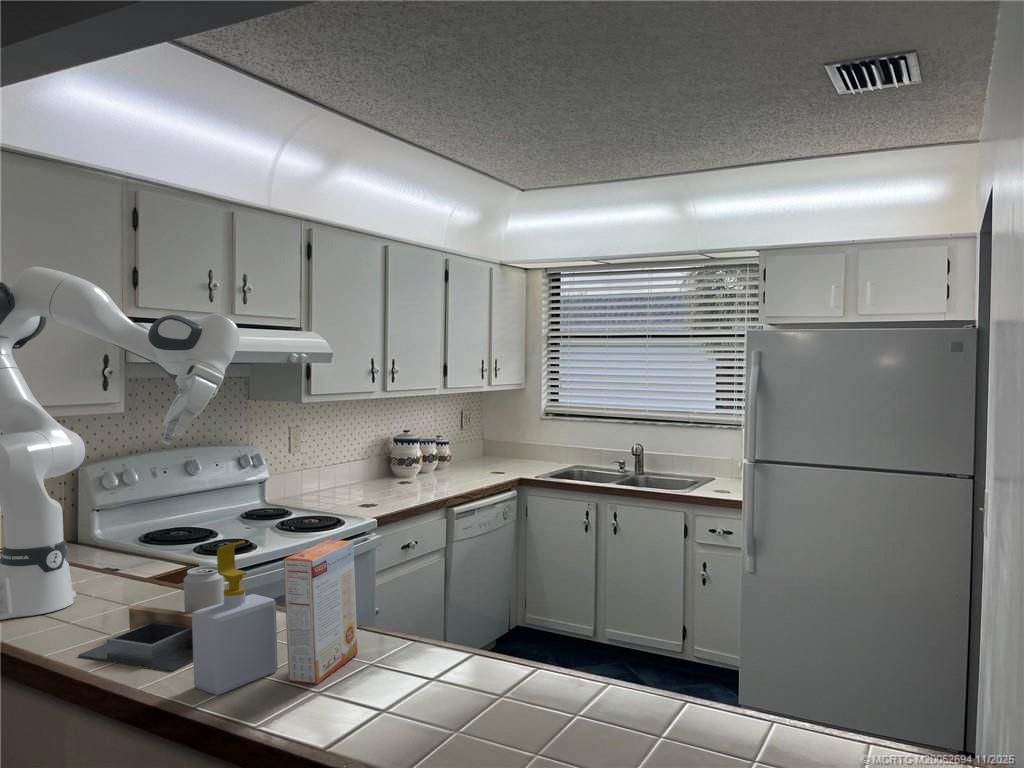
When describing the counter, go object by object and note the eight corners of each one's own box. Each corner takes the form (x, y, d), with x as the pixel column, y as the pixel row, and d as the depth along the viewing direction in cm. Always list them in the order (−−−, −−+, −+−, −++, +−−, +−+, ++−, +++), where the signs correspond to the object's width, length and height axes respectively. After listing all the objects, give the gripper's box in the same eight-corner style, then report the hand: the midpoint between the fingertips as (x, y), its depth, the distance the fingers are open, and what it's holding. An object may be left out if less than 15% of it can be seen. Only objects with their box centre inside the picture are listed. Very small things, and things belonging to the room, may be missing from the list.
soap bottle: (216, 697, 125) (212, 551, 124) (192, 687, 129) (188, 546, 128) (279, 671, 135) (275, 536, 134) (255, 663, 139) (251, 532, 138)
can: (216, 634, 155) (214, 573, 154) (178, 634, 155) (176, 574, 154) (230, 621, 162) (229, 563, 162) (194, 622, 162) (193, 564, 162)
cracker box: (329, 651, 144) (326, 538, 143) (358, 655, 142) (356, 540, 142) (285, 682, 131) (281, 557, 130) (316, 686, 129) (313, 559, 128)
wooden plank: (129, 633, 156) (129, 608, 156) (137, 630, 158) (137, 605, 157) (227, 647, 147) (226, 621, 147) (234, 643, 149) (233, 617, 149)
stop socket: (78, 656, 144) (77, 638, 144) (131, 635, 155) (131, 617, 155) (172, 672, 136) (171, 652, 136) (221, 647, 147) (220, 629, 147)
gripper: (171, 387, 178) (145, 442, 171) (197, 362, 162) (169, 421, 156) (198, 399, 181) (173, 453, 174) (226, 376, 165) (200, 434, 159)
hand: (171, 438), depth 165 cm, fingers open, 8 cm apart
